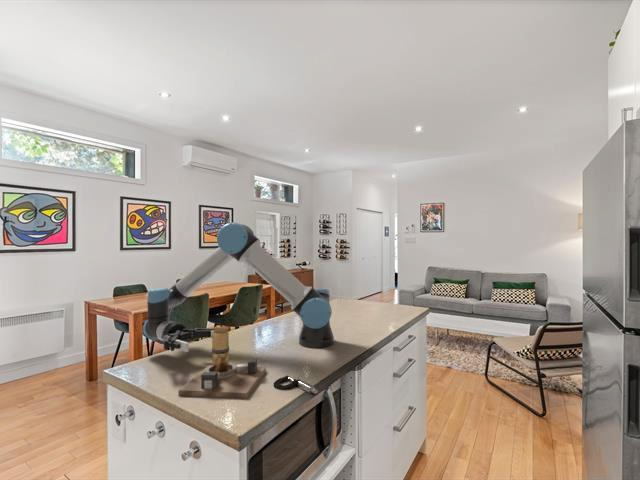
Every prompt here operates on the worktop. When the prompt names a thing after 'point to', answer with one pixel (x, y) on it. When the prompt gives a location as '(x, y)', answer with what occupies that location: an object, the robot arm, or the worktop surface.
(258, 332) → the worktop surface
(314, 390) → the micrometer
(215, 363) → the coupling
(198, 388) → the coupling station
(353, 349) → the worktop surface
